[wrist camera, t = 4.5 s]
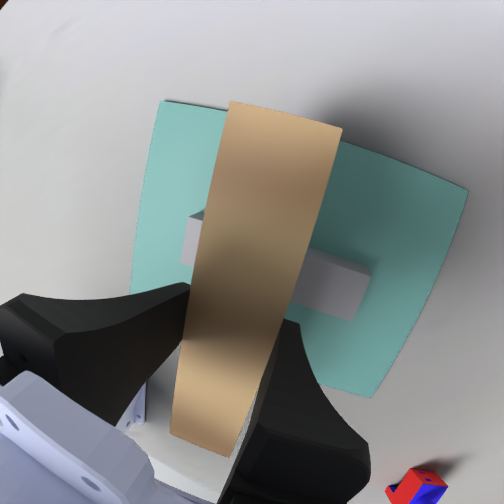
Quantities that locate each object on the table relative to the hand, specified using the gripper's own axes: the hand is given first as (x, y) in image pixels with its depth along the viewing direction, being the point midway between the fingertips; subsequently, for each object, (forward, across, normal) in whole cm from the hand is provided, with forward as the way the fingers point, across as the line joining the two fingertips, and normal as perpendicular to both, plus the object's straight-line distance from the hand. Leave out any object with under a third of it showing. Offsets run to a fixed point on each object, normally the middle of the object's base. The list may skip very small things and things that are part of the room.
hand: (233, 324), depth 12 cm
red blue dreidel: (+9, -21, +18) cm, 29 cm away
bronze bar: (+4, 0, 0) cm, 4 cm away
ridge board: (+8, 0, 0) cm, 8 cm away
